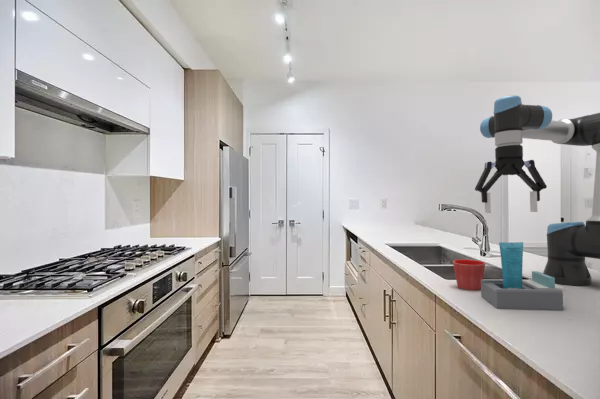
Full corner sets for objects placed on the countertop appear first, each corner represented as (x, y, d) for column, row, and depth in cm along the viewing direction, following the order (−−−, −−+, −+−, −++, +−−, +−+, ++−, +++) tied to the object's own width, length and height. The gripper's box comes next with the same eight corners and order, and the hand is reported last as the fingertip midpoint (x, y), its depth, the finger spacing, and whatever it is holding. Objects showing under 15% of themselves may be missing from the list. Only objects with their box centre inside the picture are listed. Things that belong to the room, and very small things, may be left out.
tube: (518, 299, 111) (517, 240, 111) (529, 304, 106) (528, 242, 107) (496, 301, 111) (495, 241, 111) (507, 305, 106) (505, 243, 106)
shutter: (547, 283, 111) (546, 271, 111) (565, 290, 102) (565, 278, 102) (522, 282, 113) (522, 271, 113) (538, 290, 103) (538, 277, 103)
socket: (539, 297, 113) (538, 280, 113) (563, 310, 100) (562, 290, 100) (481, 296, 116) (480, 279, 116) (497, 308, 103) (496, 289, 103)
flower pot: (491, 291, 122) (491, 264, 123) (461, 291, 123) (460, 264, 123) (477, 284, 133) (476, 259, 133) (448, 284, 133) (448, 259, 133)
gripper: (544, 145, 111) (546, 211, 111) (463, 149, 115) (465, 212, 115) (558, 141, 104) (560, 211, 104) (471, 146, 108) (473, 213, 107)
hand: (510, 212), depth 109 cm, fingers open, 13 cm apart
